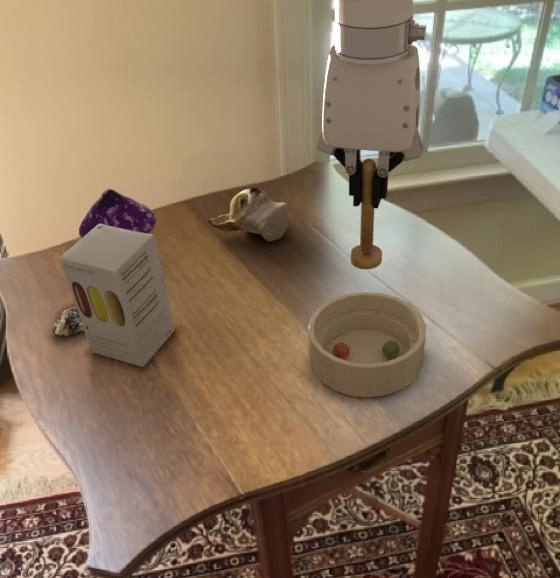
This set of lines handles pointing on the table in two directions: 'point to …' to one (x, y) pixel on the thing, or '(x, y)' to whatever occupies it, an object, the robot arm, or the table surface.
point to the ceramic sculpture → (254, 215)
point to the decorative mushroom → (118, 214)
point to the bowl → (366, 343)
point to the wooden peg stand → (366, 223)
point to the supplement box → (119, 293)
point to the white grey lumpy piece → (68, 322)
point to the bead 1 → (341, 350)
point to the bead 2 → (390, 349)
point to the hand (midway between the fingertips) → (367, 200)
